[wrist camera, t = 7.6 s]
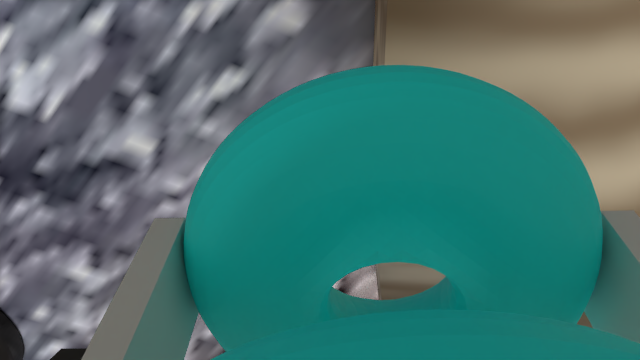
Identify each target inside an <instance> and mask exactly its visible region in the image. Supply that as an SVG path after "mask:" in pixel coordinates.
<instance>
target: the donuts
mask: <svg viewBox="0 0 640 360" xmlns="http://www.w3.org/2000/svg"><path fill="white" fill-rule="evenodd" d="M602 244H603V226H602V216H601V211H600V206H599V202H598V199H597V195H596V192H595V189H594V186H593V184H592V181H591V178H590V176H589V174H588V171H587V169H586V167H585V165H584V164H583V162H582V160H581V158H580V157H579V155H578V154H577V152H576V151H575V150H574V148H573V147H572V145H571V144H570V143H569V142H568V141H567V139H566V138H565V137H564V136H563V135H562V134H561V132H560V131H559V130H558V129H557V128H556V127H555V126H554V125H553V124H552V123H551V122H550V121H549V120H548V119H547V118H546V117H545V116H543V115H542V114H541V113H540V112H539V111H537V110H536V109H535V108H533V107H532V106H531V105H529V104H528V103H526V102H525V101H523V100H522V99H520V98H518V97H517V96H515V95H513V94H512V93H510V92H508V91H506V90H504V89H502V88H499V87H497V86H495V85H492V84H490V83H488V82H485V81H482V80H480V79H477V78H474V77H471V76H468V75H465V74H462V73H458V72H454V71H450V70H445V69H439V68H433V67H426V66H414V65H380V66H369V67H362V68H356V69H350V70H345V71H341V72H337V73H333V74H329V75H326V76H323V77H320V78H317V79H314V80H311V81H309V82H306V83H304V84H301V85H299V86H297V87H295V88H293V89H291V90H289V91H287V92H285V93H283V94H281V95H279V96H278V97H276V98H274V99H273V100H271V101H270V102H268V103H266V104H265V105H264V106H262V107H261V108H259V109H258V110H257V111H255V112H254V113H253V114H251V115H250V116H249V117H248V118H246V119H245V120H244V121H243V122H242V123H241V124H239V125H238V126H237V127H236V128H235V129H234V130H233V131H232V132H231V133H230V134H229V135H228V136H227V138H226V139H225V140H224V141H223V142H222V143H221V144H220V146H219V147H218V148H217V150H216V151H215V152H214V154H213V155H212V157H211V158H210V160H209V162H208V163H207V165H206V166H205V168H204V170H203V172H202V174H201V176H200V178H199V180H198V182H197V184H196V187H195V189H194V192H193V194H192V197H191V200H190V204H189V207H188V211H187V216H186V222H185V232H184V263H185V270H186V275H187V279H188V283H189V286H190V290H191V293H192V297H193V299H194V302H195V304H196V307H197V309H198V311H199V313H200V315H201V317H202V319H203V320H204V322H205V324H206V325H207V327H208V328H209V330H210V331H211V333H212V334H213V336H214V337H215V338H216V340H217V341H218V342H219V344H220V345H221V346H222V347H223V348H224V350H225V351H226V352H225V353H223V354H221V355H219V356H217V357H215V358H213V359H211V360H640V343H637V342H634V341H631V340H628V339H626V338H623V337H620V336H617V335H614V334H611V333H607V332H604V331H600V330H597V329H594V328H590V327H587V326H583V325H578V324H577V322H578V321H579V319H580V318H581V316H582V314H583V312H584V310H585V308H586V306H587V304H588V302H589V299H590V297H591V295H592V292H593V290H594V287H595V284H596V281H597V278H598V275H599V270H600V265H601V259H602ZM391 262H403V263H413V264H419V265H423V266H426V267H429V268H432V269H435V270H437V271H438V272H440V273H442V274H444V275H445V276H446V277H445V278H443V279H442V280H441V281H440V282H439V283H438V284H436V285H434V286H433V287H431V288H429V289H427V290H425V291H423V292H421V293H418V294H415V295H412V296H408V297H403V298H399V299H391V300H372V299H363V298H358V297H354V296H350V295H347V294H345V293H342V292H340V291H338V290H336V289H334V288H333V287H332V286H333V285H334V284H335V283H336V282H337V281H338V280H340V279H341V278H343V277H344V276H345V275H347V274H349V273H351V272H353V271H355V270H358V269H360V268H362V267H366V266H370V265H375V264H379V263H391Z"/></svg>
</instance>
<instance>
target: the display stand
mask: <svg viewBox="0 0 640 360" xmlns="http://www.w3.org/2000/svg"><path fill="white" fill-rule="evenodd" d="M380 65H414V66H426V67H433V68H439V69H445V70H450V71H454V72H458V73H462V74H465V75H468V76H471V77H474V78H477V79H480V80H482V81H485V82H488V83H490V84H492V85H495V86H497V87H499V88H502V89H504V90H506V91H508V92H510V93H512V94H513V95H515V96H517V97H518V98H520V99H522V100H523V101H525V102H526V103H528V104H529V105H531V106H532V107H533V108H535V109H536V110H537V111H539V112H540V113H541V114H542V115H543V116H545V117H546V118H547V119H548V120H549V121H550V122H551V123H552V124H553V125H554V126H555V127H556V128H557V129H558V130H559V131H560V132H561V134H562V135H563V136H564V137H565V138H566V139H567V141H568V142H569V143H570V144H571V145H572V147H573V148H574V150H575V151H576V152H577V154H578V155H579V157H580V158H581V160H582V162H583V164H584V165H585V167H586V169H587V171H588V174H589V176H590V178H591V181H592V184H593V186H594V189H595V192H596V195H597V199H598V202H599V206H600V211H628V210H634V212H635V213H636V214H637V215H638V216H639V217H640V0H375V30H374V60H373V66H380ZM375 265H376V275H377V285H378V295H379V300H391V299H399V298H403V297H408V296H412V295H415V294H418V293H421V292H423V291H425V290H427V289H429V288H431V287H433V286H434V285H436V284H438V283H439V282H440V281H441V280H442V279H443V278H445V277H446V276H445V275H444V274H442V273H440V272H438V271H437V270H435V269H432V268H429V267H426V266H423V265H419V264H413V263H403V262H391V263H379V264H375ZM577 324H578V325H583V326H587V327H590V328H593V327H592V325H591V323H590V321H589V320H588V318H587V316H586V314H585V312H583V314H582V316H581V318H580V319H579V321H578V322H577Z"/></svg>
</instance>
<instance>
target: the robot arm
mask: <svg viewBox="0 0 640 360" xmlns="http://www.w3.org/2000/svg"><path fill="white" fill-rule="evenodd" d="M601 216H602V226H603V244H602V259H601V265H600V270H599V275H598V278H597V281H596V284H595V287H594V290H593V292H592V295H591V297H590V299H589V302H588V304H587V306H586V308H585V310H584V312H585V314H586V316H587V318H588V320H589V321H590V323H591V325H592V327H593V328H594V329H597V330H600V331H604V332H607V333H611V334H614V335H617V336H620V337H623V338H626V339H628V340H631V341H634V342H637V343H640V217H639V216H638V215H637V214H636V213H635V212H634V210H628V211H601ZM185 222H186V221H185V218H155V219H154V221H153V223H152V224H151V226H150V228H149V230H148V232H147V234H146V236H145V238H144V240H143V242H142V244H141V246H140V248H139V249H138V251H137V253H136V255H135V257H134V259H133V261H132V263H131V265H130V267H129V269H128V271H127V273H126V274H125V276H124V278H123V280H122V282H121V284H120V286H119V288H118V290H117V292H116V294H115V296H114V298H113V299H112V301H111V303H110V305H109V307H108V309H107V311H106V313H105V315H104V317H103V319H102V321H101V323H100V324H99V326H98V328H97V330H96V332H95V334H94V336H93V338H92V340H91V342H90V344H89V346H88V348H87V349H61V350H60V351H58V352H57V353H56V354H55V355H54V356H53V357H52V358H51V359H50V360H184V357H185V354H186V351H187V348H188V345H189V341H190V338H191V335H192V332H193V329H194V325H195V322H196V319H197V316H198V313H199V311H198V309H197V307H196V304H195V302H194V299H193V297H192V293H191V290H190V286H189V283H188V279H187V275H186V270H185V263H184V232H185ZM23 354H24V348H23V342H22V339H21V337H20V335H19V333H18V331H17V329H16V328H15V326H14V325H13V324H12V322H11V321H10V320H9V319H8V318H7V317H6V316H5V315H4V314H3V313H2V312H1V311H0V360H22V359H23Z"/></svg>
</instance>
